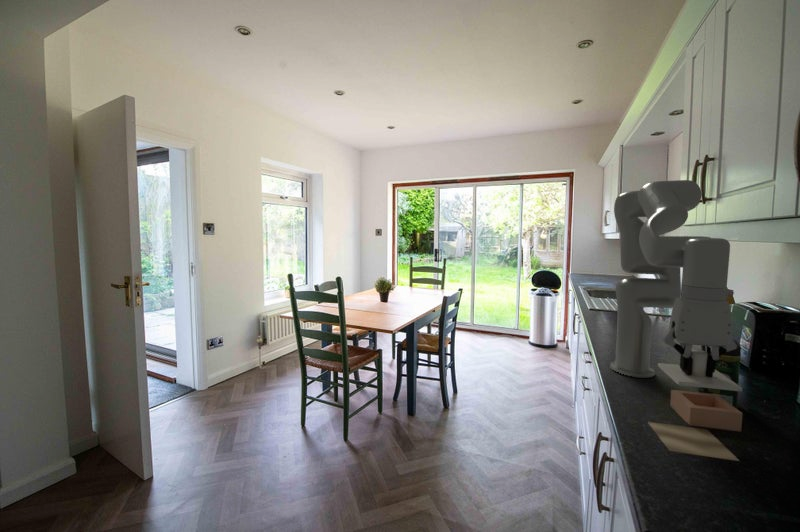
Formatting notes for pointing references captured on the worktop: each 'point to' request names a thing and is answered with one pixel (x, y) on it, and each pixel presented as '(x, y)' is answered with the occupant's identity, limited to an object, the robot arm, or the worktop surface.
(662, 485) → the worktop surface
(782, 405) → the worktop surface
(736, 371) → the coffee jar
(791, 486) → the worktop surface
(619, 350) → the robot arm
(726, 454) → the mat
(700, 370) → the lid
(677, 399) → the dish
